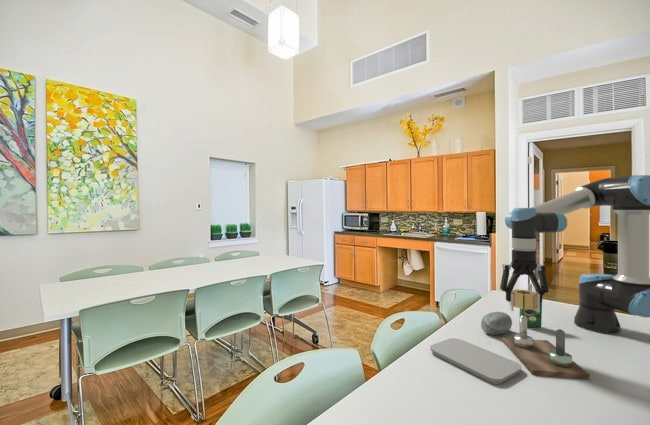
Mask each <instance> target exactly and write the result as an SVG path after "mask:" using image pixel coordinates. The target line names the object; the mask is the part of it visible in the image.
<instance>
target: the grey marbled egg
mask: <svg viewBox="0 0 650 425" xmlns="http://www.w3.org/2000/svg"><path fill="white" fill-rule="evenodd" d="M480 322H481V323H480V327H481V330H482V331H483V332H484V333H485V334H487V335H492V336H496V335H497V336H498V335H501V334H502V335H503V334H505V333H507V332H509V331H510V330H511V329H512V326H513V319H512V317H511V316H510V315H509V314H507V313H506V312H503V311H492V312H488V313H486V314H484V315H483V317H482V319H481V321H480Z"/></svg>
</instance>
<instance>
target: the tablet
mask: <svg viewBox="0 0 650 425" xmlns="http://www.w3.org/2000/svg"><path fill="white" fill-rule="evenodd" d="M429 347H430V348H429V349H430V351H431V353H432V354H433V355H434V356H436V357H438V358H440V359H442V360H444V361H446V362H448V363H449V364H451V365H454V366H456V367H458V368H460V369H462V370H464V371H466V372H468V373H470V374H472V375H474V376H476V377H478V378H479V379H482V380H484V381H486V382H488V383H491V384H495V385H496V384H497V385H499V384H501V383H504V382H505V381H507V380H509V379H511V378H513V377H514V376H516V375H519V373H520V372H521V371H522V365H521V364H520V363H518V362H516V361H515V360H512V359H510V358H508V357H505V356H502V355H499V354H498V353H495V352H493V351H490V350H488V349H485V348H483V347H480V346H479V345H478V346H477V345H476V344H473V343H471V342H469V341H466V340H464V339H461V338H457V337H455V338H454V337H451V338H447V339H444V340H442V341H439V342H437V343H433V344H430V346H429Z"/></svg>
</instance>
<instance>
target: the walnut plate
mask: <svg viewBox="0 0 650 425" xmlns="http://www.w3.org/2000/svg"><path fill="white" fill-rule="evenodd" d="M501 341H502V343H503V345H505V346H506V347H507V349H509V351H510V352H512V354H513V355H514V356H515V358H517V359H518V361H519V362H520V363H521V364H522V365H523V366H524V368H525V369H527V370H528V372H529V373H530V374H531V375H532V376H545V377H555V378H556V377H557V378H569V379H570V378H571V379H580V380H581V379H582V380H591V374H590V373H589V372H588V371H587V370H585V369H584V368H582V367H581V366H580V365H579V364H577V362H575V361H574V360H572V367H571V368H562V367H558V366H555V365H553V364H551V363H550V362H549V351H550V350H556V345H554V344H552V343H551V342H550V341H549V340H547V339H546V340H545V339H533V348H532V349H523V348H519V347H517V346H515V345H514V337H513V338H511V337H502V338H501Z"/></svg>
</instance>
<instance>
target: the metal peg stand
mask: <svg viewBox="0 0 650 425" xmlns="http://www.w3.org/2000/svg"><path fill="white" fill-rule="evenodd" d="M555 347H556V350H550V351H549V362H550V363H551V364H553V365H555V366H558V367H562V368H571V367H572V361H573V356H572V355H571V354H570V353H569V352H566V332H565V331H564V330H563V329H560V328H559V329H556V330H555Z"/></svg>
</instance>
